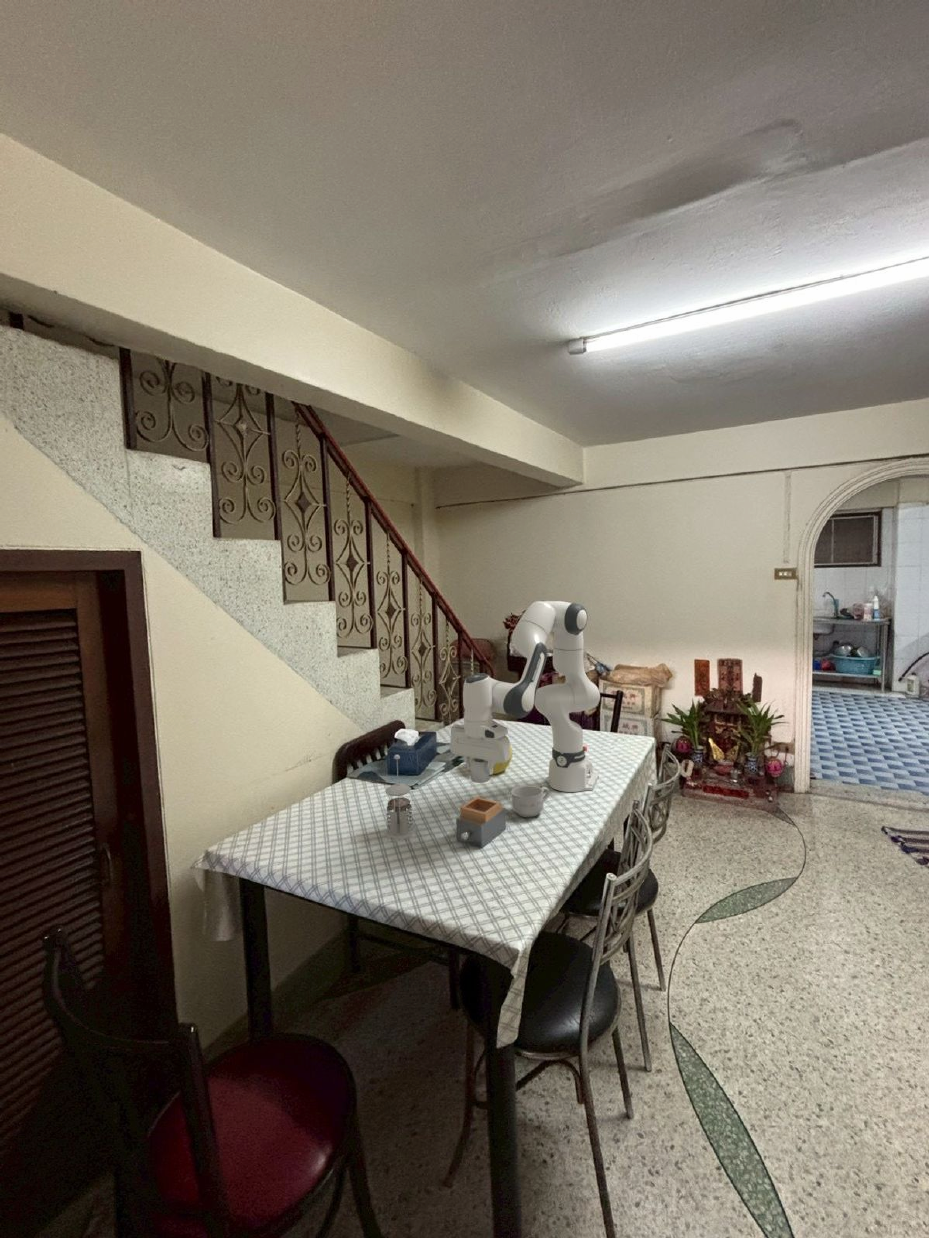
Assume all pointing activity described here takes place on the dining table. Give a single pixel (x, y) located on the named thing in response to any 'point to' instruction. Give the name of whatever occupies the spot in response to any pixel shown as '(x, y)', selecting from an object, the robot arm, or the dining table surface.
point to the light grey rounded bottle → (479, 770)
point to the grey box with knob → (480, 822)
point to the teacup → (528, 800)
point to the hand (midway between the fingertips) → (480, 771)
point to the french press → (399, 811)
